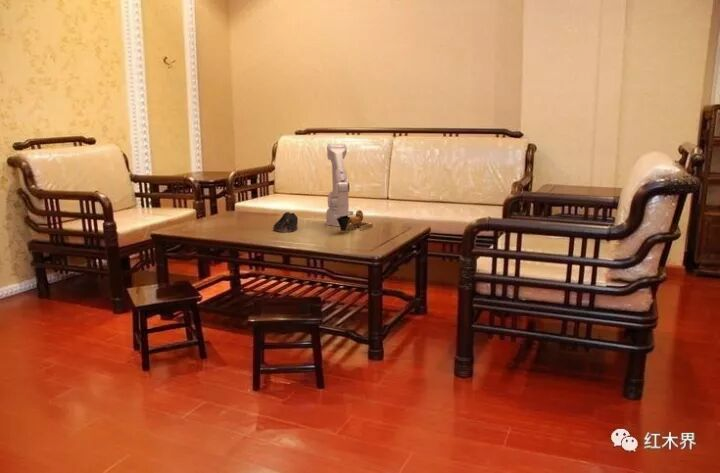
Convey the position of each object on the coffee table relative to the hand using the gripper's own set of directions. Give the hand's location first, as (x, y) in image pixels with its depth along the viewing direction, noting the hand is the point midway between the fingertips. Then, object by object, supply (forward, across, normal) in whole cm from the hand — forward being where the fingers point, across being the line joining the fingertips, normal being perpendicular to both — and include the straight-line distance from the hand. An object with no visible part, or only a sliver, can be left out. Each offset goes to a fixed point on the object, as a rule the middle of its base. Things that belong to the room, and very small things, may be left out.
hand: (343, 230), depth 300 cm
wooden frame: (+1, +13, 0) cm, 13 cm away
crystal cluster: (+1, -13, +29) cm, 32 cm away
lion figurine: (+1, +12, +2) cm, 12 cm away
